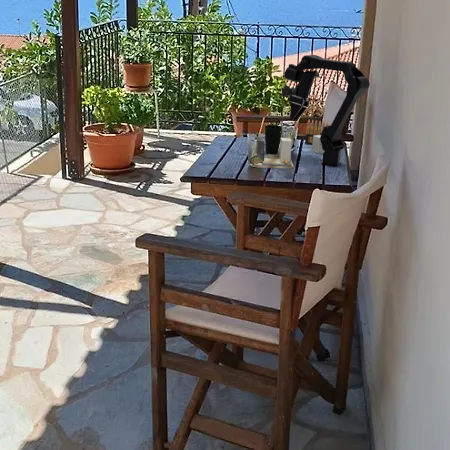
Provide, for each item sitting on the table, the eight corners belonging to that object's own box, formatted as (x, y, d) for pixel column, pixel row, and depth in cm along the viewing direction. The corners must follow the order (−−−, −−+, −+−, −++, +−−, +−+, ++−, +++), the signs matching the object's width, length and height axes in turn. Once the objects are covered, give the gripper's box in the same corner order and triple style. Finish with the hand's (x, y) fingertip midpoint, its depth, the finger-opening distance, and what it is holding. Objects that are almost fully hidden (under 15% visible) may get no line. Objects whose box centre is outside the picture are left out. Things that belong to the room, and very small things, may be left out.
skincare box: (318, 154, 288) (319, 137, 286) (311, 151, 293) (312, 135, 291) (329, 153, 290) (331, 137, 288) (323, 150, 296) (324, 134, 293)
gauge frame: (290, 161, 274) (292, 138, 270) (293, 168, 262) (295, 144, 259) (253, 159, 274) (254, 136, 270) (254, 167, 262) (256, 143, 258)
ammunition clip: (304, 144, 306) (306, 119, 302) (305, 143, 308) (307, 118, 303) (326, 147, 302) (329, 121, 298) (327, 146, 304) (330, 121, 300)
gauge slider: (288, 158, 273) (290, 138, 269) (291, 165, 263) (292, 143, 260) (279, 158, 272) (280, 137, 269) (281, 164, 263) (283, 143, 259)
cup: (274, 156, 281) (276, 128, 277) (259, 152, 286) (261, 126, 282) (283, 153, 287) (285, 126, 283) (269, 150, 291) (271, 123, 287)
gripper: (291, 81, 282) (279, 115, 285) (282, 76, 264) (270, 113, 267) (314, 89, 279) (303, 123, 282) (308, 85, 261) (295, 122, 264)
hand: (292, 120), depth 274 cm, fingers open, 9 cm apart
